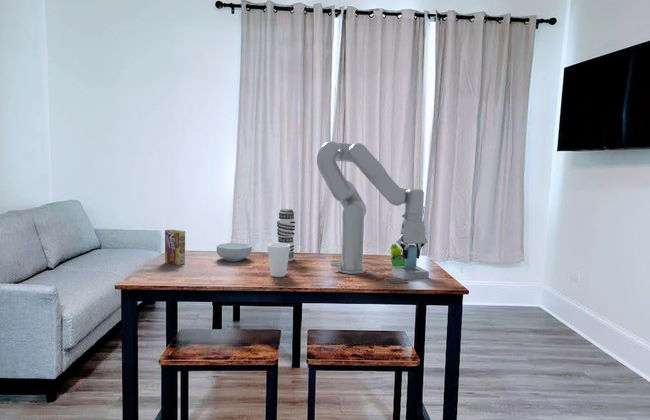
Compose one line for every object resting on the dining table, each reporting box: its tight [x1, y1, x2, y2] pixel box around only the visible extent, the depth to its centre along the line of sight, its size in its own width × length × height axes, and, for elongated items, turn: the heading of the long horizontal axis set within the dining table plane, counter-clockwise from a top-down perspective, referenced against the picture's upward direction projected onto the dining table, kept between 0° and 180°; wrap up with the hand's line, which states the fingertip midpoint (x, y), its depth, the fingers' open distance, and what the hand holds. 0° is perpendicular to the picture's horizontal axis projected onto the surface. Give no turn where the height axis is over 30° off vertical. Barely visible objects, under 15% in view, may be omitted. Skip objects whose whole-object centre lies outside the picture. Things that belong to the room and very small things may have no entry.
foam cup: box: [267, 242, 290, 278], centre depth 186 cm, size 10×9×13 cm
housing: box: [391, 265, 430, 281], centre depth 193 cm, size 12×12×3 cm
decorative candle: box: [276, 208, 296, 262], centre depth 216 cm, size 9×9×25 cm
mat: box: [385, 277, 409, 285], centre depth 183 cm, size 7×7×1 cm
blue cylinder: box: [405, 244, 418, 268], centre depth 192 cm, size 5×5×10 cm
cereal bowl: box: [216, 242, 252, 262], centre depth 212 cm, size 17×17×7 cm
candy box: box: [164, 228, 186, 266], centre depth 200 cm, size 9×4×15 cm, turn 63°
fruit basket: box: [390, 243, 405, 267], centre depth 207 cm, size 11×9×11 cm
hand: (410, 257), depth 192 cm, fingers closed on blue cylinder, 5 cm apart
